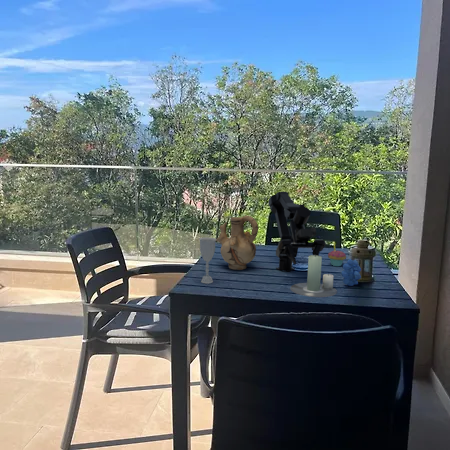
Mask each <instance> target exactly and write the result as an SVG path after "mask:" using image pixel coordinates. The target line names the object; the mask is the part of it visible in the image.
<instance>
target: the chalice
mask: <svg viewBox="0 0 450 450" xmlns="http://www.w3.org/2000/svg"><path fill="white" fill-rule="evenodd" d="M216 239H217V238H216V237H215V238H214V237H210V236H208V237H200V238H198V240H199V252H200V255H201V257H202V259H203V261H204V262H205V269H204V272H205V275H203V276H202V278H201V281H200V283H202V284H213V283H214V281H213V278H212V276H211V275H210V274H209V271H210V269H209V267H210V262H211V261H212V259H213V257H214V255H215V252H216V242H217V241H216Z"/></svg>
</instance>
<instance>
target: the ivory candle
mask: <svg viewBox="0 0 450 450" xmlns="http://www.w3.org/2000/svg"><path fill="white" fill-rule="evenodd" d="M322 284H323V286H322V288H324V289H333V288H334V275H333V274H331V273H324V274H322Z"/></svg>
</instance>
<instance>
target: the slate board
mask: <svg viewBox="0 0 450 450" xmlns="http://www.w3.org/2000/svg"><path fill="white" fill-rule="evenodd" d="M322 286H323V283H320V290H319V291H309V290H307V282H299V283H295V284H294V283H293V285H291V286H290V287H289V290H290V291H291V292H293V293H294V294H295V295H296V294H297V295H300V296H304V297H310V298H326V297H327V298H328V297H333V296H335V295H337V293H338V290H337V289H336V288H334V287H333V289H324V288H322Z"/></svg>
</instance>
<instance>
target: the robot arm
mask: <svg viewBox="0 0 450 450" xmlns="http://www.w3.org/2000/svg"><path fill="white" fill-rule="evenodd" d="M267 205H268V207H269V209H270V211H271V212H272V213H273V214H274V215H275V220H276V225H277V229H278V234H279V238H280V239H279V242H278V245H277V247H276V249H275V256H276V257H277V258H278V259H279V260H278V261H279V262H278V267H276V270H277V271H282V272H291V271H294V270H295V269H296V267H293V264H294V265H296V264H297V259H296V258H297V256H298V251H299V249H305V248H306V249H309V248H311V250H312V252H311V253H312V254H311V255H317V256H320V252H322V251H323V250H324V248H325V247H326V244H327V243H326V241H325V240H324V239H323V238H322V239H317V238H316V239H314V241H313V242H310V241H311V238H313V237H315V236H317V230H316V227H310V228H305V225H306V224H307V222H308V221H309V218H310V216H311V213H312V212H311V210H310V208H308V207H306V206H305V204H297V203H296V202H294V201H293V199H292V198H291V196H290V195H289V192H288V191H277V192H276V193H274V194H273V195H271V196H270V197H269V198H268V202H267ZM288 220H290V222H289V224H288ZM290 231H291V233H290Z"/></svg>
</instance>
